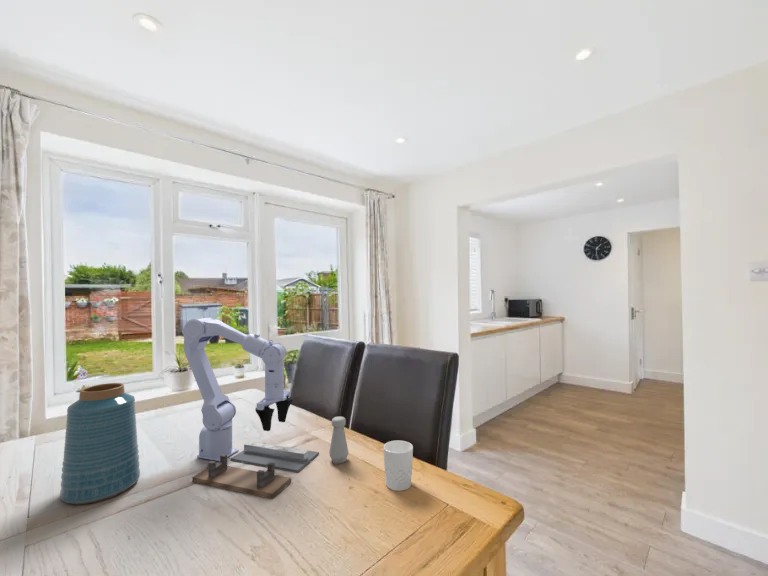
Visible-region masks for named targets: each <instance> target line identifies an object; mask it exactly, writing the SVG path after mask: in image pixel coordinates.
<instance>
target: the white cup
mask: <svg viewBox="0 0 768 576" xmlns="http://www.w3.org/2000/svg"><path fill="white" fill-rule="evenodd" d="M413 454H414V445H413V444H412V443H410V442H409V441H406V440H402V439H401V440H398V439H397V440H391V441H390V440H389V441H387V442H386V443H384V444H383V463H384V464H383V465H384V474H385V485H386V487H387V488H388V489H390V490H391V491H395V492H396V491H397V492H400V491H401V492H402V491H405V490H408V489H409V488H410V487H412V475H413V457H414V456H413Z"/></svg>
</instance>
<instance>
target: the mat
mask: <svg viewBox="0 0 768 576" xmlns="http://www.w3.org/2000/svg"><path fill="white" fill-rule="evenodd" d="M262 444H264V443H263V442H262ZM268 444H269V443H268ZM269 445H271V444H269ZM274 445H275V444H274ZM275 446H277V445H275ZM287 447H288V446H287ZM288 448H290V447H288ZM300 449H301V448H300ZM301 450H303V449H301ZM318 454H320V452H319V451H314V450H308V459H307V460H306V461H305V462H300V461H294V460H288V459H282V458H277V457H271V456H265V455H259V454H253V453H247V452H244V449H243V450H241V451H240V452H239V453H238V452H237V454H235V455H233V456H232V457H231V458H230V461H233V462H237V463H244V464H250V465H254V466H260V467H265V468H267V464H268V463H275V470H276V469H277V470H280V471H288V472H292V473H299V472H300V471H302V470H303V469H304V468H305V467H306V466H307V465H308V464H309V463H311V462H312V461H313V460H314V459H315V458H317V457H318V456H319V455H318ZM310 461H311V462H310Z"/></svg>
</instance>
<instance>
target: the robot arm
mask: <svg viewBox="0 0 768 576" xmlns="http://www.w3.org/2000/svg"><path fill="white" fill-rule="evenodd" d="M181 332H182V336H183V353H184V355H185V357H186V359H187V362H188V364H189V367H190V370H191V372H192V374H193V377H194V379H195V382H196V384H197V386H198V390H199V392H200V394H201V397H202V400H203V404H202V407H201V410H200V411H201V413H202V414H201V415H202V424H203V427H202V428H201V429H200V433H199V436H198V454H197V456H196V458H199V459H204V460H210V461H214V462H220V456H221V455H222V454H224V455H227V458H229V457H231V456H233V455H234V454H236V453H238V451H239V448H234V447H233V418H234V417H235V416H236V413H237V407H236V406H235V404H234V403H233V402H232V401H231V400H230V398H229V396H228V395H226V394H225V393H223V392H222V389H221V388H220V384H219V382H218V380H217V377H216V375H215V373H214V370H213V367H212V365H211V363H210V360H209V357H208V355H207V353H206V350H205V348H206V346H207V345H208V343H209V341H210V340H211V339H212V338H213V337H215V336H217V337H218V336H220V337H222V338H224V339H227V340H229V341H232V342H233V343H236V344H239V345H241V346H242V347H241V348H242V349H243V351H245V352H246V353H249V354H251V355H253V356H256V357H258V358H260V359H261V360H262V361H263V363H264V397H263V398H262V399H261V400H259V401H258V402H256V407H255V413H256V415H257V416H258V418H259V420H260V423H261V426H262V430H263V431H265V432H269V431H271V428H272V419H273V415H274V412H275V408H270V406H271V405H274V404H275V405H276V409H277V410H276V411H277V419H278V422H280V423H285V422H286V419H287V415H288V413H289V408H290V407H291V404H292V403H293V398H291V395H292V394H291V390H285V366H284V365H285V364H284V363H285V362H284V361H285V358H286V355H287V349H286V347H285V346H284V344H282V343H280V342H275V343H274V340H267V339H265V338H263V337H261V335H260V334H259V333H250V334H246V333H243V332H242V331H240V330H238V329H236V328H234V327H232V326H231V325H228V324H227V323H224V322H223V321H222V320H220V319H216V318H214V317H212V316H208V317H205V318H204V317H203V318H192V319H189V320H187V322H186V323H185V324H184V325H183V327H182V329H181Z"/></svg>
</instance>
